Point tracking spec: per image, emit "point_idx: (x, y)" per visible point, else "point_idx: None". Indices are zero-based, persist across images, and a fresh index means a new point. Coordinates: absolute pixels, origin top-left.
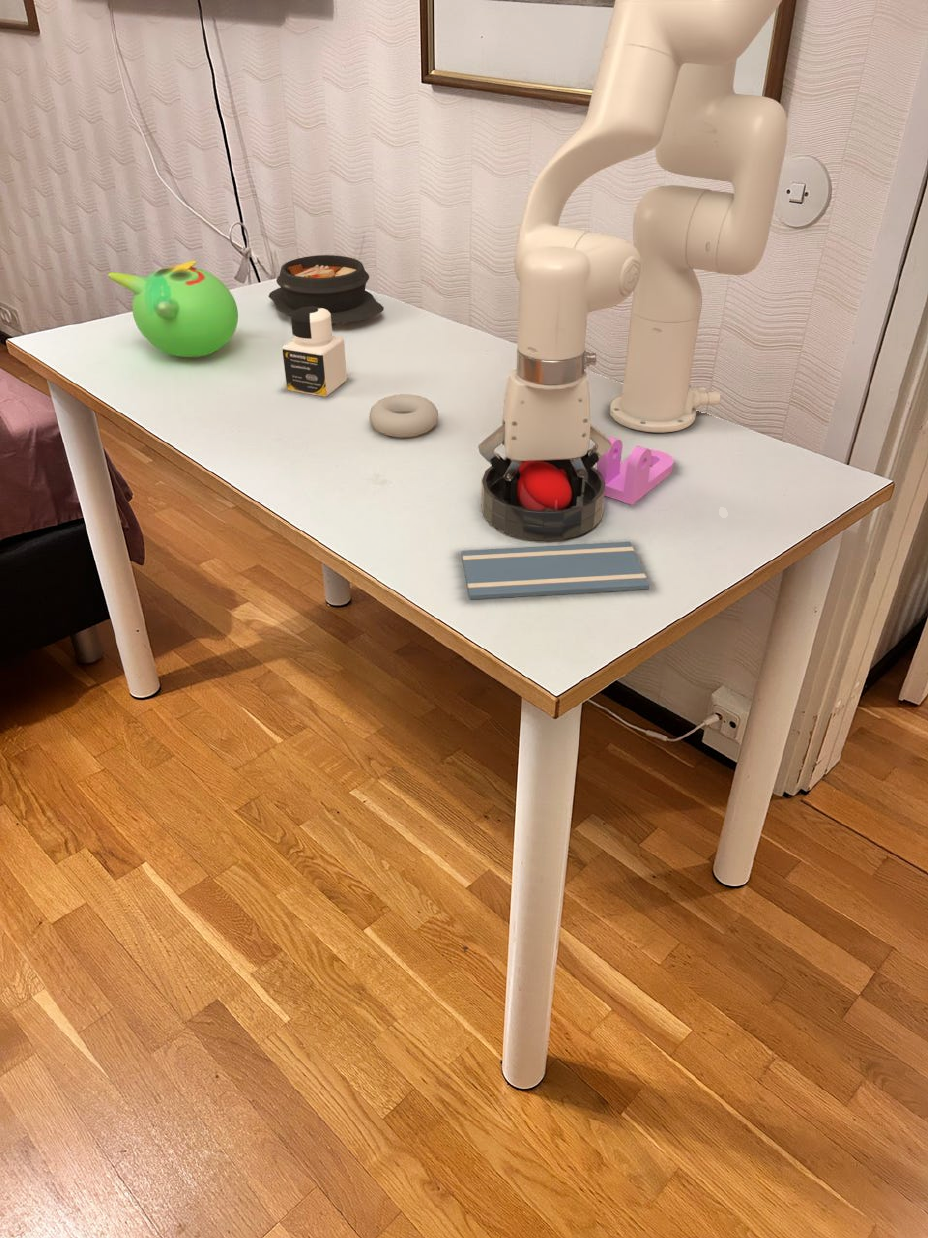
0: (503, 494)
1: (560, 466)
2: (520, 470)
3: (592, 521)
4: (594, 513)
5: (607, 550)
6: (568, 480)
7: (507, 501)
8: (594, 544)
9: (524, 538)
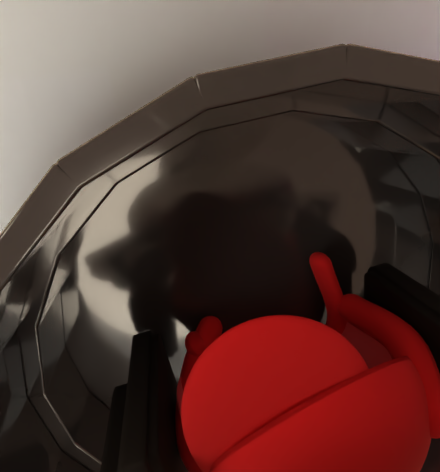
0: (116, 387)
1: (405, 107)
2: (198, 456)
3: None
4: None
5: None
6: (422, 337)
7: (132, 297)
8: None
9: None
